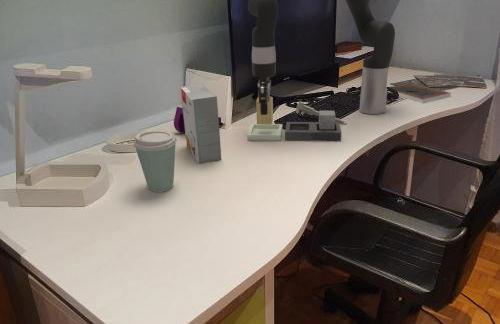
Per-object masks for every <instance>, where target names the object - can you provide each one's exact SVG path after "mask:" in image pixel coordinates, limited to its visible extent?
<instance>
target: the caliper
mask: <svg viewBox="0 0 500 324" xmlns="http://www.w3.org/2000/svg"><path fill="white" fill-rule="evenodd" d="M304 102H305V101H303V102H302V101H301V100H300V101H299V103H297V105H296V108H295V114H296V113H297V114H298V113H299V114H300V115H301V114H302V115H303V114H304V115H305V114H307V115H310V116H311V117H313V116H316V117H319V111H320V110H319V111H318V110H315V108H313V107H311V106H308V105H306V104H304ZM304 115H303V116H304ZM335 122H339V123H340V125H344V126H346V125H348V123H347V122H345V120H343V119H341V118H337V117H335Z"/></svg>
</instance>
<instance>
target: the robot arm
mask: <svg viewBox="0 0 500 324" xmlns="http://www.w3.org/2000/svg"><path fill="white" fill-rule="evenodd" d="M345 2H346V4H347V7H348V9H349V11H350V13H351V16H352V18H353V21H354V23H355V26H356V30H357V33H358V35H359V39H360V41H361V42H362V44H363V45H364V46H367V47H370V48H373V52H372V54H371V55H370V56H367V57H365V58H364V59H363V60H362V61H363V62H362V72H361V73H362V74H361V86H360V99H359V112H361V113H362V114H366V115H367V114H368V115H379V114H385V113H386V107H387V98H388V93H387V90H388V89H387V87H388V76H389V75H388V74H389V66H390V61H391V59H392V56H393V51H394V44H395V37H396V36H395V35H396V32H395V26H394V25H393V23H392V22H390V21H382V20H376V18H375V17H374V16H373V14H372V11H371V8H370V2H371V0H345ZM247 9H248V12H249V13H250V15H252V17H253V16H254V17H256V26H255V27H253V29H252V30H251V40H252V41H251V43H252V46H251V47H252V49H251V67H252V76H253V77H256V78H259V79H258V82H257V89H258V95H257V96H258V97H259V103H260V109H261V115H267V103H268V97H271V96H270V95H271V86H272V80H271V78H272V77H275V76H276V73H277V70H276V69H277V67H276V66H277V63H276V62H277V61H276V60H277V59H276V56H277V54H276V46H275V45H276V43H275V41H276V39H275V38H276V35H275V34H276V33H275V31H276V27H277V22H278V17H279V1H278V0H248V1H247ZM262 97H265V100H262Z"/></svg>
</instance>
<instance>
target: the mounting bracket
mask: <svg viewBox="0 0 500 324" xmlns="http://www.w3.org/2000/svg"><path fill="white" fill-rule="evenodd" d="M221 118H222V117H220V116H218V119H219V124H220V123H221ZM173 127H174V129H175V130H176V131H177V132H179V133H182V134H185V125H184V116H183V107H180V106H176V109H175V114H174V118H173Z"/></svg>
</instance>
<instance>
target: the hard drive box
mask: <svg viewBox="0 0 500 324" xmlns="http://www.w3.org/2000/svg"><path fill="white" fill-rule="evenodd" d="M179 90H180V96H181V98H180V99H181V105H182V107H181V108H183V116H184V125H185V133H184V134H185V141H186V146H187V148H188V150H189V151H190V153H191V154H192V156H193V157H194V160H195V161H196V162H197V164H198V165H200V164H204V163H210V162H215V161H216V162H217V161H219V160H220V161H221V160H222V149H221V135H220V123H219V119H218V117H219V109H218V107H219V106H218V98H217V95H216V94H215V93H213V91H211V90H210V88H208V87H207V86H206V85H204V84H203V83H198V84H191V85H185V86H184V85H183V86H182V85H181V86H179Z"/></svg>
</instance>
